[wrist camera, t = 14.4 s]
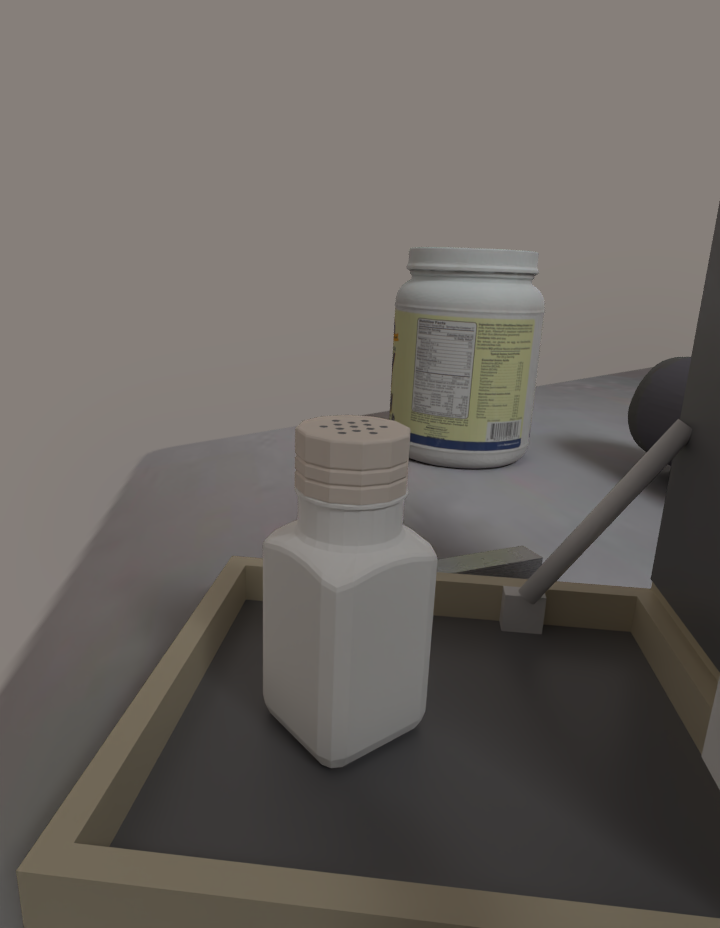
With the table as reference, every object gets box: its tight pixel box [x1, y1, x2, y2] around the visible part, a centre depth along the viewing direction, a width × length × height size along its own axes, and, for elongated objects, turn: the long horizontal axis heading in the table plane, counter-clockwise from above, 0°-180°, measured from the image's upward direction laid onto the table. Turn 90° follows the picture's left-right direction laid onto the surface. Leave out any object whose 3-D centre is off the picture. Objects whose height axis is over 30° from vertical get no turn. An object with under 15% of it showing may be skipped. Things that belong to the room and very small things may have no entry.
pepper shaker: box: [263, 415, 438, 768], centre depth 19 cm, size 4×4×10 cm
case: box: [16, 204, 720, 928], centre depth 18 cm, size 16×18×20 cm
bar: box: [437, 546, 543, 579], centre depth 32 cm, size 12×2×2 cm, turn 114°
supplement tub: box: [389, 247, 545, 469], centre depth 55 cm, size 12×12×17 cm
